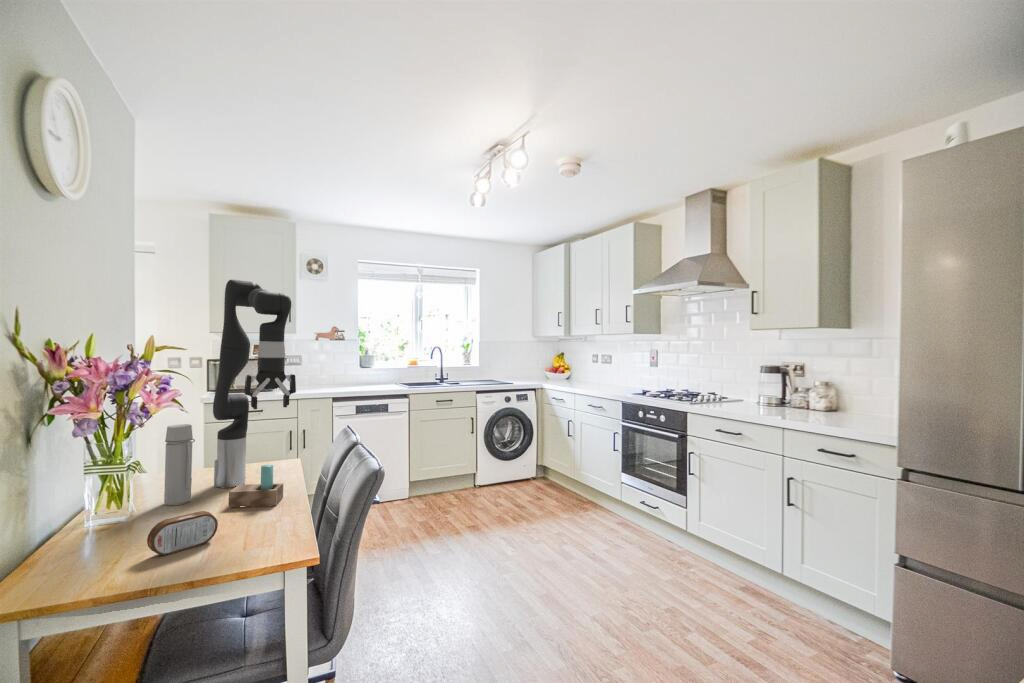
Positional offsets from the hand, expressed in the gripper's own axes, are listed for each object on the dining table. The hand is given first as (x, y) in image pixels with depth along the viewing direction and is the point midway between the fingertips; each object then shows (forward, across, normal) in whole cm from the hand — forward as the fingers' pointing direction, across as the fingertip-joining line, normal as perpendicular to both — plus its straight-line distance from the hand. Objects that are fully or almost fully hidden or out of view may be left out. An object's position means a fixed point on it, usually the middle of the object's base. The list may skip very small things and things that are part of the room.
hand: (270, 408), depth 149 cm
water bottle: (+32, +21, -25) cm, 46 cm away
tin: (+32, +23, +17) cm, 43 cm away
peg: (+32, -2, -9) cm, 33 cm away
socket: (+32, +1, -11) cm, 34 cm away
